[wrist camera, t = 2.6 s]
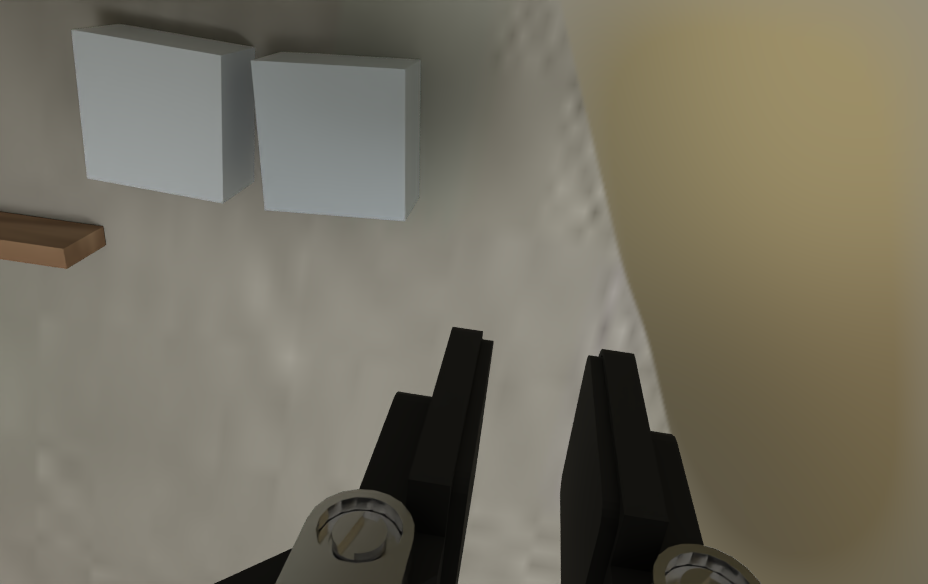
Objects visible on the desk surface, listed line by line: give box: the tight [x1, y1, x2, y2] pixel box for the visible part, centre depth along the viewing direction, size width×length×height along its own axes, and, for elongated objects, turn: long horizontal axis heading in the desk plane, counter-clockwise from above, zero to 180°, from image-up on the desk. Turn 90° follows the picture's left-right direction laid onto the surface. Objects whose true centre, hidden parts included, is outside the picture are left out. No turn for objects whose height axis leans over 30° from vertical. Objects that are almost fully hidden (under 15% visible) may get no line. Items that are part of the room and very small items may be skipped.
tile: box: [71, 24, 255, 203], centre depth 29 cm, size 6×6×4 cm
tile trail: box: [251, 52, 421, 221], centre depth 28 cm, size 6×6×4 cm
